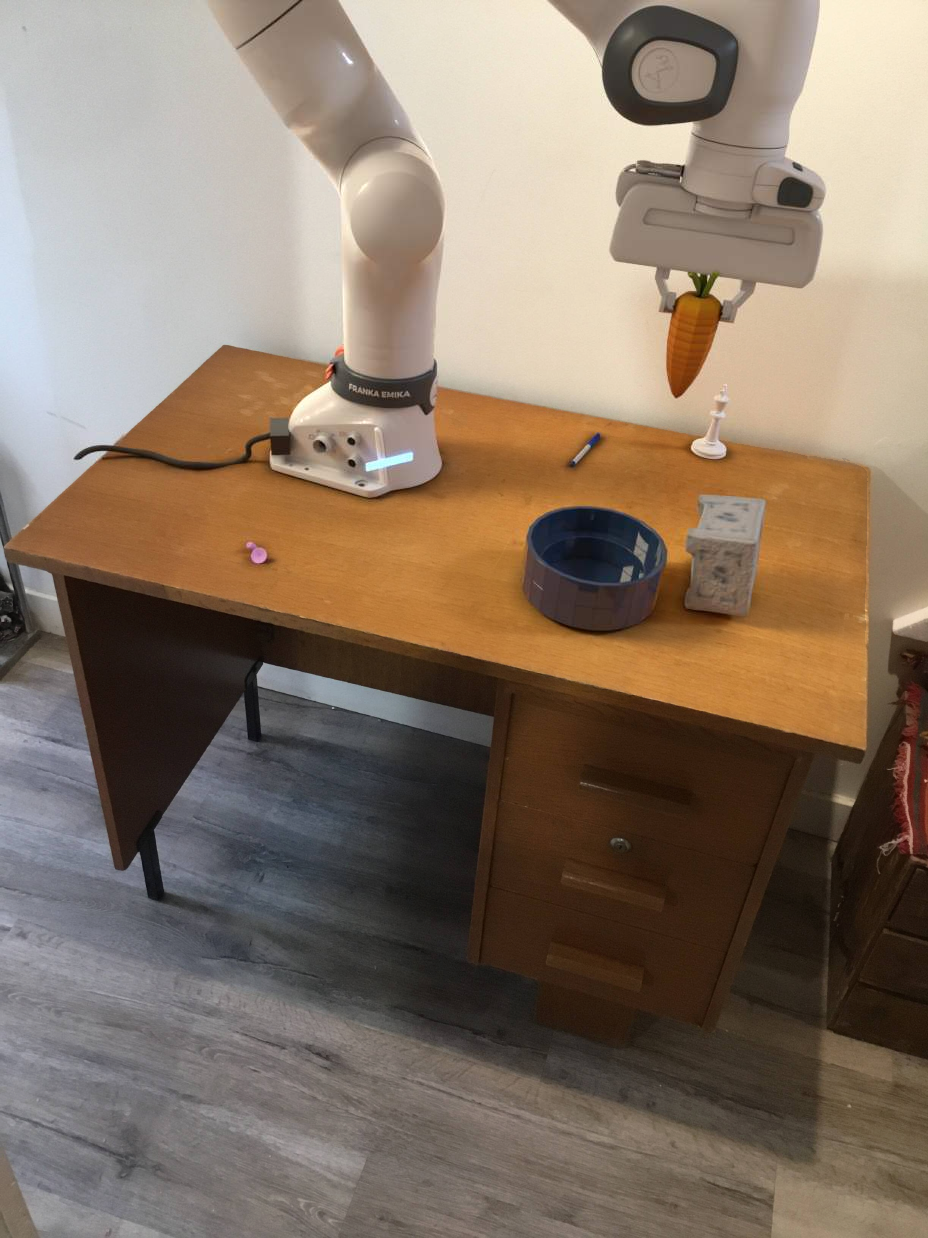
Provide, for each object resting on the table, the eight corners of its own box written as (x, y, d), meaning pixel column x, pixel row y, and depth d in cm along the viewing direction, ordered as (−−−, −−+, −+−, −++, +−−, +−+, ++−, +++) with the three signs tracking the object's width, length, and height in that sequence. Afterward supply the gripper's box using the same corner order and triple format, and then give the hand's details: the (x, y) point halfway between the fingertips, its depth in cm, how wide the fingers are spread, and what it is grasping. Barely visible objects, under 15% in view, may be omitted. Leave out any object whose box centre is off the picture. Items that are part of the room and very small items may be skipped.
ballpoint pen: (594, 436, 131) (595, 429, 130) (600, 437, 130) (601, 431, 130) (568, 467, 123) (569, 460, 122) (574, 469, 123) (576, 462, 122)
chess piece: (730, 449, 130) (748, 383, 124) (718, 462, 126) (736, 395, 120) (698, 438, 132) (714, 373, 125) (685, 451, 128) (701, 385, 122)
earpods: (263, 569, 103) (274, 558, 103) (258, 566, 101) (269, 555, 101) (246, 551, 104) (257, 540, 104) (241, 548, 102) (252, 536, 102)
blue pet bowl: (527, 633, 95) (534, 583, 91) (514, 551, 106) (520, 503, 102) (668, 636, 96) (681, 587, 92) (640, 554, 108) (651, 507, 104)
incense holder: (682, 560, 107) (702, 483, 101) (753, 577, 105) (778, 500, 99) (667, 607, 100) (688, 527, 93) (744, 627, 98) (770, 547, 91)
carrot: (698, 410, 98) (735, 269, 89) (652, 403, 99) (684, 262, 89) (698, 391, 102) (733, 254, 93) (654, 385, 102) (684, 247, 93)
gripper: (618, 163, 85) (593, 310, 93) (843, 194, 82) (796, 342, 91) (623, 150, 89) (599, 291, 98) (836, 178, 87) (792, 320, 96)
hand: (696, 315), depth 94 cm, fingers closed on carrot, 5 cm apart
